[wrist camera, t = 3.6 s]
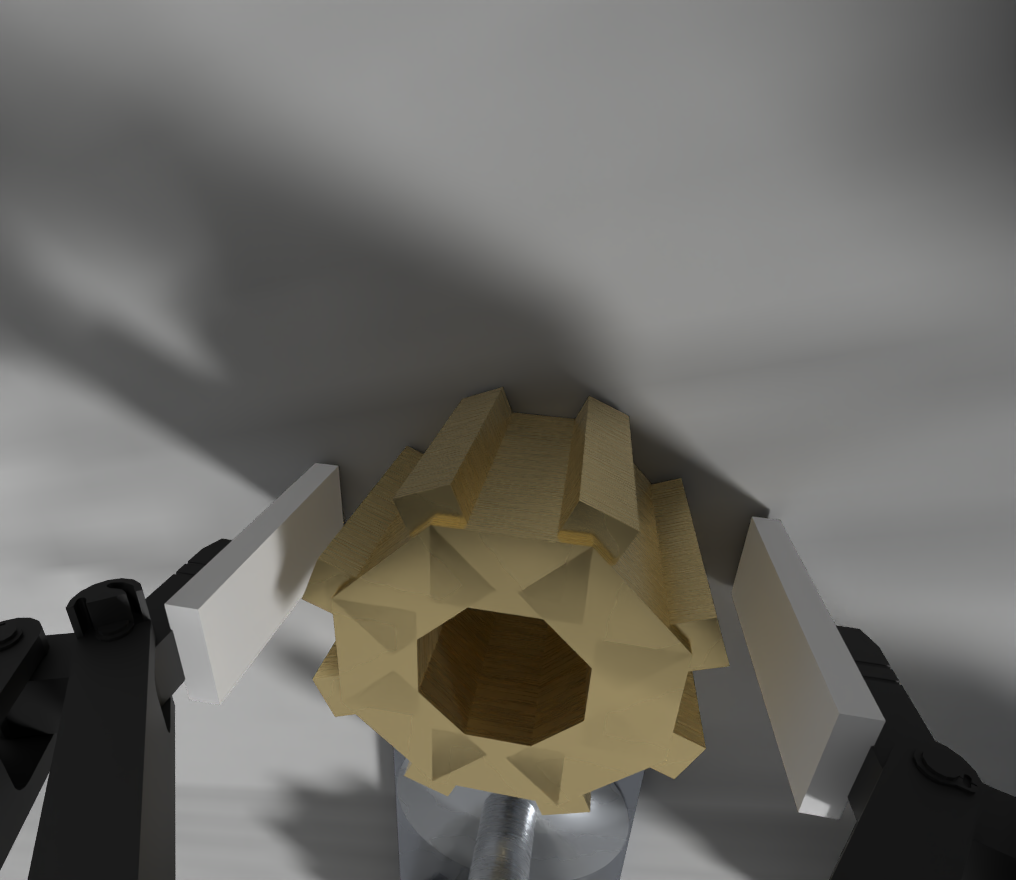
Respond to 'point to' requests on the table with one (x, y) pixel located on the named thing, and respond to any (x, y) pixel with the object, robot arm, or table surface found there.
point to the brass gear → (521, 609)
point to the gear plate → (510, 833)
